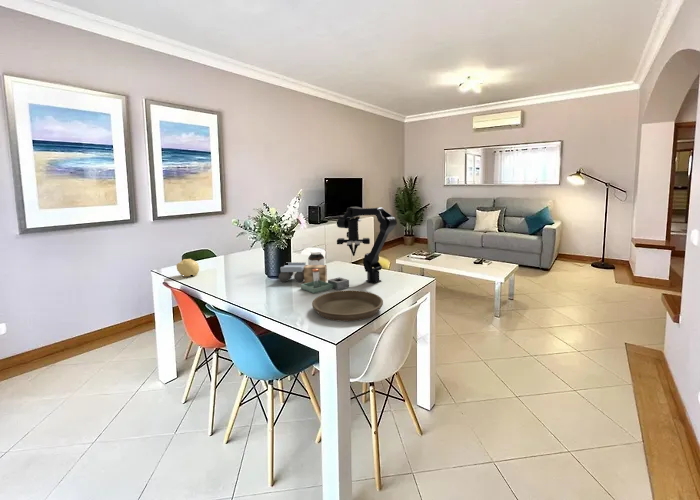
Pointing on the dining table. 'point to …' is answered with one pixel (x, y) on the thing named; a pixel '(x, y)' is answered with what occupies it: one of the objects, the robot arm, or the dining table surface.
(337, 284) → the holder
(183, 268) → the sculpture
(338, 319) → the plant saucer
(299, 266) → the trolley
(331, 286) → the tray
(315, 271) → the pin
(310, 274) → the block
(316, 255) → the spread jar
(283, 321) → the dining table surface
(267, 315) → the dining table surface
